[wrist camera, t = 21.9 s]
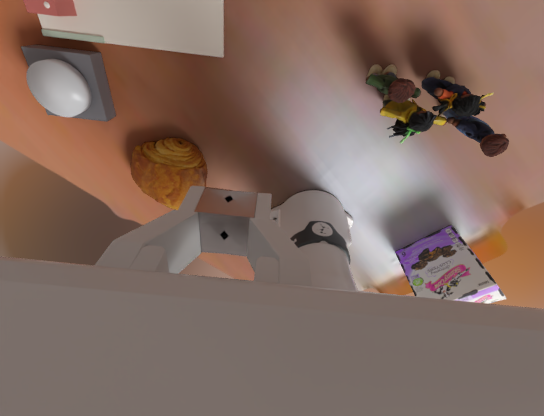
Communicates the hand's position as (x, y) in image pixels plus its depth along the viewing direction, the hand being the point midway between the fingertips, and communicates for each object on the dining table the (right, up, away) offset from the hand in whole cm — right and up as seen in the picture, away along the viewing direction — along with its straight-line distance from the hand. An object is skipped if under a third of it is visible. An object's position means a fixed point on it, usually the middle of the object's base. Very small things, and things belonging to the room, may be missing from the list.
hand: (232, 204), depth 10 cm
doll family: (+26, +18, +34) cm, 47 cm away
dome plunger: (-31, +20, +33) cm, 50 cm away
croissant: (-18, +8, +44) cm, 48 cm away
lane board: (-19, +30, +27) cm, 45 cm away
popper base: (-31, +21, +35) cm, 51 cm away
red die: (-29, +30, +27) cm, 49 cm away
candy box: (+39, -9, +54) cm, 67 cm away
